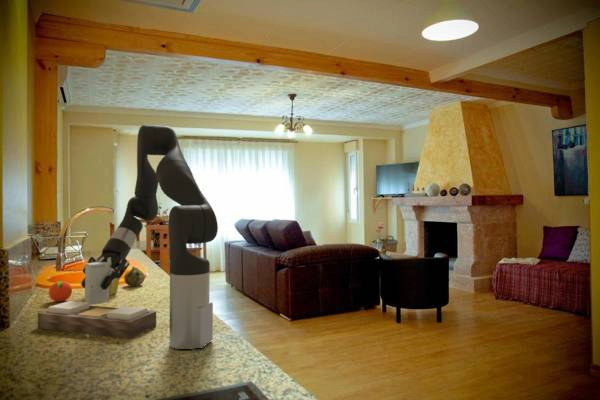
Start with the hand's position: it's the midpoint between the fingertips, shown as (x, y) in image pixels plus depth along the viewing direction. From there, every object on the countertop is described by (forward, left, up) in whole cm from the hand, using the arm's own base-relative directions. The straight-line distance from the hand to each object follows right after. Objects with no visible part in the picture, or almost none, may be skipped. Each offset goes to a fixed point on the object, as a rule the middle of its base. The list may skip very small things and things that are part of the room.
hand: (93, 287), depth 127 cm
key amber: (-11, +11, -6) cm, 16 cm away
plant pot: (+16, -24, -8) cm, 30 cm away
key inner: (-21, +11, -5) cm, 23 cm away
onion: (+16, -40, -8) cm, 44 cm away
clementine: (+22, -9, -8) cm, 25 cm away
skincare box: (0, -2, -5) cm, 5 cm away
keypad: (-11, +11, -8) cm, 17 cm away
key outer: (-2, +11, -5) cm, 12 cm away
